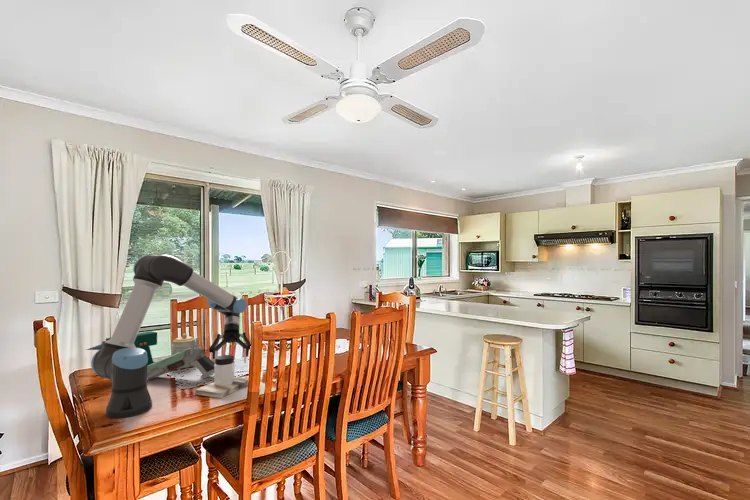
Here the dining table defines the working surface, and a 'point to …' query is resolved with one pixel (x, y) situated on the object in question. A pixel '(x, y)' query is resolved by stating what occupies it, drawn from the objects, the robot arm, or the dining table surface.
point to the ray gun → (183, 362)
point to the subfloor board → (221, 388)
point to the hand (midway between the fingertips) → (230, 362)
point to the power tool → (139, 343)
